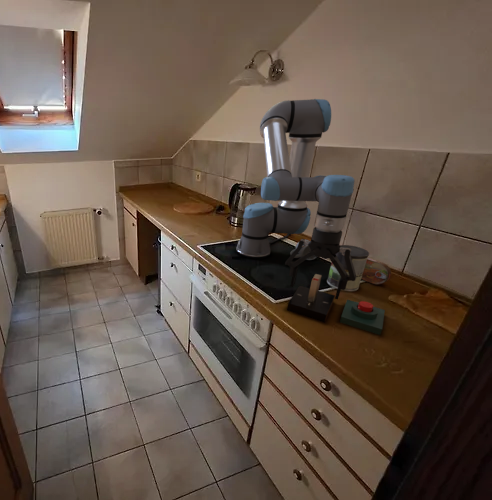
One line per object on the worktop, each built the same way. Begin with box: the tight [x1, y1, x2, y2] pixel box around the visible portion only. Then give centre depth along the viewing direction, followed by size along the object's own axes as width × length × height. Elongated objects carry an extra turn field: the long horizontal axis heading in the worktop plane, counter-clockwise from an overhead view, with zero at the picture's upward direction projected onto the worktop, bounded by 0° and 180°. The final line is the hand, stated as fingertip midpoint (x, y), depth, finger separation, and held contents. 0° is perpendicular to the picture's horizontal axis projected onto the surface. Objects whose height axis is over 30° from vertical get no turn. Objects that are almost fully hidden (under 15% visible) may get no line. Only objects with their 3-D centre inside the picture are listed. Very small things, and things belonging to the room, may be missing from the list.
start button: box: [358, 300, 374, 312], centre depth 91 cm, size 4×4×2 cm
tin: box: [361, 257, 392, 285], centre depth 114 cm, size 15×3×8 cm, turn 24°
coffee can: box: [326, 244, 370, 292], centre depth 109 cm, size 10×10×14 cm
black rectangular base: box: [286, 285, 336, 323], centre depth 99 cm, size 14×11×3 cm
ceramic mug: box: [289, 239, 318, 261], centre depth 134 cm, size 11×8×8 cm
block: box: [339, 299, 385, 336], centre depth 92 cm, size 12×10×4 cm
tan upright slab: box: [307, 273, 323, 303], centre depth 97 cm, size 5×2×8 cm, turn 140°
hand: (313, 291), depth 97 cm, fingers open, 12 cm apart
